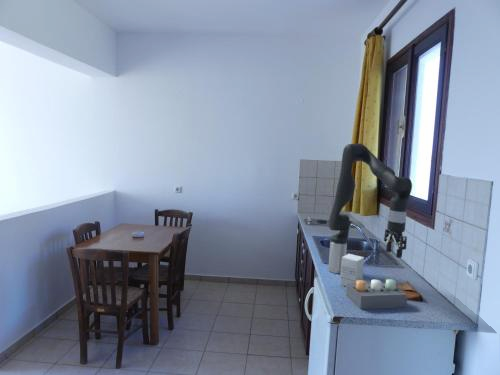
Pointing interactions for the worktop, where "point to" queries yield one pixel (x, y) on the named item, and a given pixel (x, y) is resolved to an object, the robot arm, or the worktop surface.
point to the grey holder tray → (376, 297)
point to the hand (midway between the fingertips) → (393, 254)
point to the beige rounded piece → (361, 285)
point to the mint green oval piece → (390, 285)
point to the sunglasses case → (409, 292)
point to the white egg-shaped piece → (376, 285)
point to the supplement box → (351, 269)
